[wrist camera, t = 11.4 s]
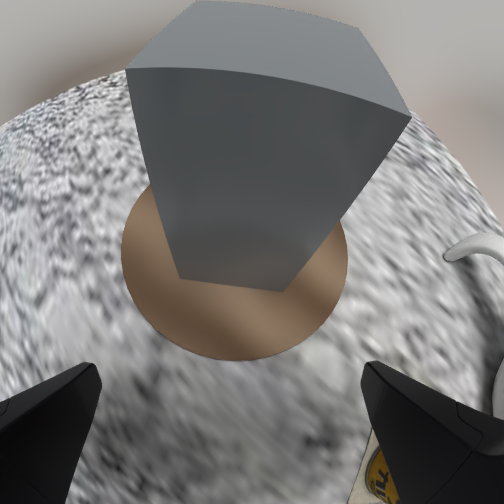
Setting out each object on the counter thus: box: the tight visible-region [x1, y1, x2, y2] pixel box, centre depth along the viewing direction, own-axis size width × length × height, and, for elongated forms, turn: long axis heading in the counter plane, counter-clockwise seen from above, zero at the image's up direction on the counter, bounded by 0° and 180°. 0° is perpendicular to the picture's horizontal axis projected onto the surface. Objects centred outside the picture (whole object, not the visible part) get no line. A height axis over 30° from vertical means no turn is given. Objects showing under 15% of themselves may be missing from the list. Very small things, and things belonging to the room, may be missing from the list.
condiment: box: [348, 430, 401, 504], centre depth 9 cm, size 7×8×12 cm
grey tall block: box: [125, 1, 412, 292], centre depth 13 cm, size 7×7×14 cm
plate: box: [121, 184, 348, 361], centre depth 19 cm, size 16×16×1 cm
